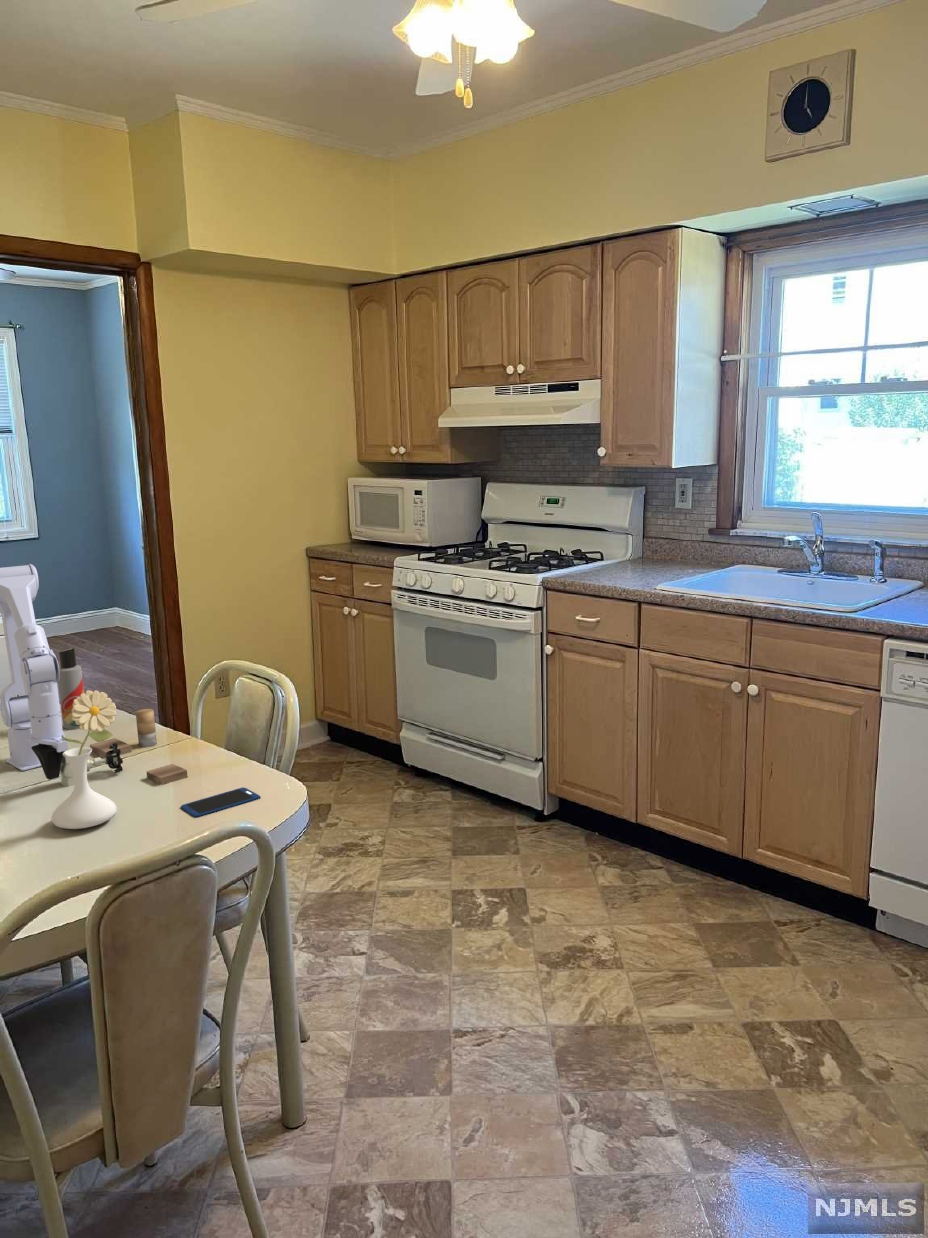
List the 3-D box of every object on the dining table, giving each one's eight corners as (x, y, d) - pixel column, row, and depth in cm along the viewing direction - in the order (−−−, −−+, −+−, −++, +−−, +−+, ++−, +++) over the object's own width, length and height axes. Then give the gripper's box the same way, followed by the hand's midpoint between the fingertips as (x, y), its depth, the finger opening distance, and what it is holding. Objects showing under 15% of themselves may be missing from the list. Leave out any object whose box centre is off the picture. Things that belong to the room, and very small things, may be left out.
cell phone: (262, 800, 181) (262, 796, 181) (195, 820, 172) (195, 816, 172) (244, 790, 186) (244, 786, 186) (179, 809, 177) (178, 805, 177)
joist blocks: (90, 750, 212) (89, 744, 212) (115, 744, 216) (114, 738, 216) (161, 785, 189) (160, 778, 189) (187, 776, 194) (186, 770, 193)
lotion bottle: (81, 729, 228) (73, 650, 225) (59, 730, 229) (50, 651, 225) (91, 722, 234) (82, 645, 230) (69, 723, 234) (60, 646, 230)
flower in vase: (52, 840, 164) (35, 704, 159) (52, 817, 175) (36, 689, 170) (129, 826, 169) (115, 694, 164) (125, 804, 180) (112, 680, 175)
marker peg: (135, 744, 216) (132, 711, 214) (151, 740, 218) (148, 708, 217) (143, 748, 213) (140, 715, 211) (160, 744, 216) (156, 711, 214)
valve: (65, 790, 188) (124, 776, 195) (61, 759, 187) (121, 746, 194) (56, 781, 194) (115, 768, 201) (53, 751, 192) (111, 739, 199)
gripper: (10, 712, 188) (18, 775, 191) (39, 725, 178) (47, 791, 181) (45, 704, 193) (53, 766, 196) (75, 717, 183) (82, 781, 186)
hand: (52, 777), depth 189 cm, fingers closed
